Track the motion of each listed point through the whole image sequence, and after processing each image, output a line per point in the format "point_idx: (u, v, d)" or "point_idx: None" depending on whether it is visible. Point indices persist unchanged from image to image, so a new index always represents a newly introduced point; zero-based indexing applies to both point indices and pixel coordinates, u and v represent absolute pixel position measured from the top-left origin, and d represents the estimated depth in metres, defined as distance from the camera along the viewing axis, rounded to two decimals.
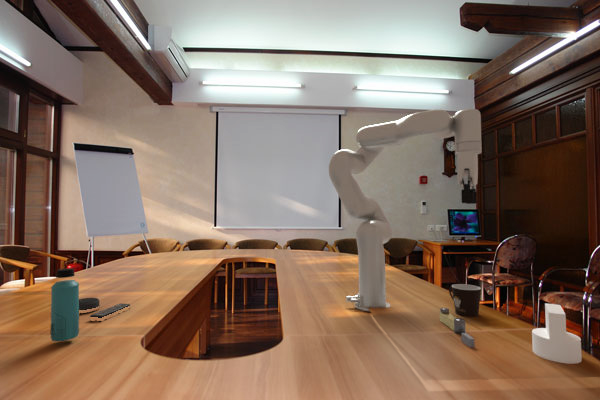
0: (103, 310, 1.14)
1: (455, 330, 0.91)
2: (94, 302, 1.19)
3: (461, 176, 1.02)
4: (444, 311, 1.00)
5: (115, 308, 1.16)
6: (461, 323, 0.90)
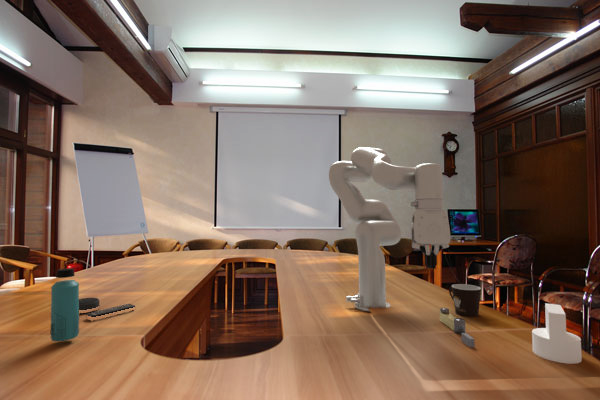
0: (104, 309, 1.15)
1: (455, 330, 0.91)
2: (94, 302, 1.19)
3: None
4: (444, 311, 1.00)
5: (116, 308, 1.16)
6: (461, 323, 0.90)
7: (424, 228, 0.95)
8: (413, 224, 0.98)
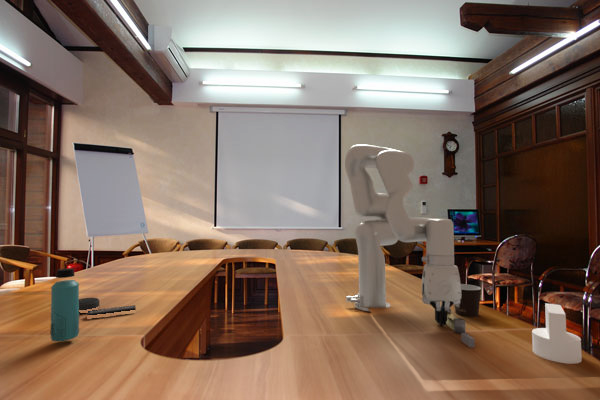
0: None
1: (455, 330, 0.91)
2: (94, 302, 1.19)
3: None
4: None
5: (115, 309, 1.15)
6: (460, 323, 0.90)
7: (435, 285, 0.95)
8: (424, 279, 0.97)
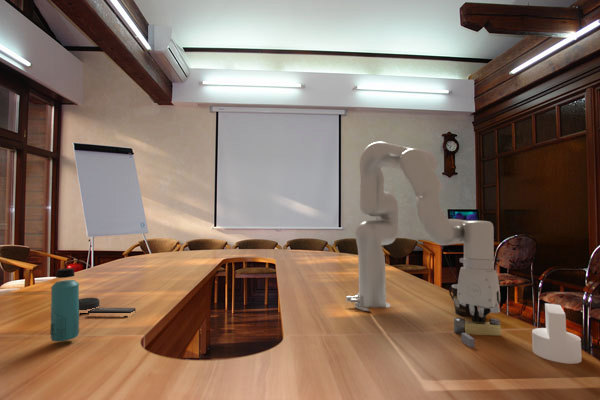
0: (110, 308, 1.17)
1: None
2: (94, 302, 1.19)
3: (495, 301, 0.89)
4: None
5: (113, 310, 1.14)
6: None
7: (464, 287, 0.95)
8: None
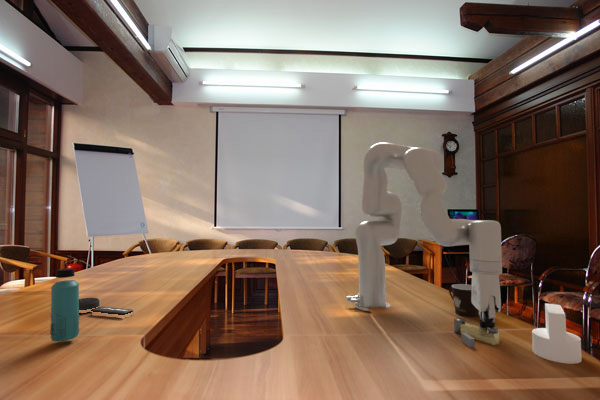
0: (112, 308, 1.17)
1: None
2: (94, 302, 1.19)
3: (485, 305, 0.84)
4: None
5: (112, 310, 1.14)
6: None
7: (472, 288, 0.92)
8: None
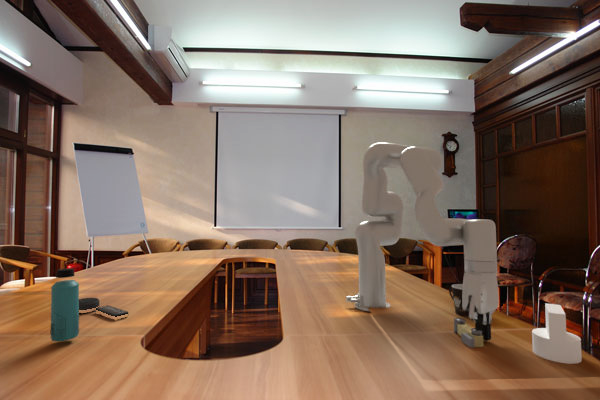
0: (113, 307, 1.17)
1: None
2: (94, 302, 1.19)
3: (465, 303, 0.84)
4: None
5: (110, 310, 1.13)
6: None
7: None
8: None
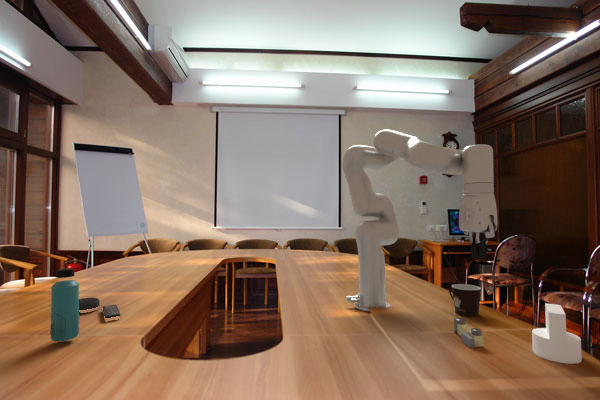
0: (115, 308, 1.17)
1: None
2: (94, 302, 1.19)
3: (486, 224, 0.86)
4: None
5: (108, 311, 1.13)
6: None
7: (462, 214, 0.93)
8: None
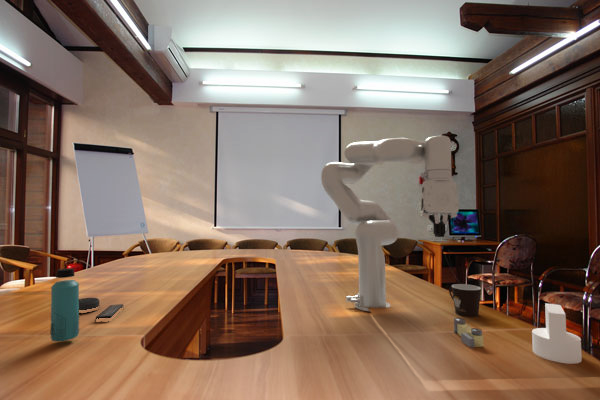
0: (117, 308, 1.16)
1: None
2: (94, 302, 1.19)
3: None
4: None
5: (106, 311, 1.13)
6: None
7: (433, 197, 0.99)
8: (423, 194, 1.02)
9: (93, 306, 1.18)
